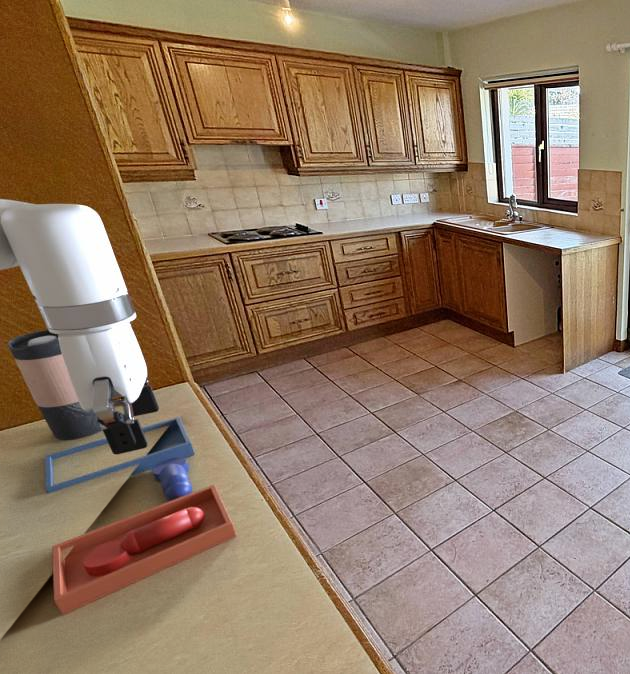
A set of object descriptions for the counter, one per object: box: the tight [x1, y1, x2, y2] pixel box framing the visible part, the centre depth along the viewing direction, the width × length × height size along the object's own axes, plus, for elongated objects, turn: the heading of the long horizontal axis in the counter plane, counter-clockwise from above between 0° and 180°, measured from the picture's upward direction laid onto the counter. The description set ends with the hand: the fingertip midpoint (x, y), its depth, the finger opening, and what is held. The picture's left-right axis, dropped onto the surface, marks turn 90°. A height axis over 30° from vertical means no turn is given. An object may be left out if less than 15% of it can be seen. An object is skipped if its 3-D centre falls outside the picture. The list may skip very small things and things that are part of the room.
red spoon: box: [83, 507, 204, 576], centre depth 65 cm, size 12×4×3 cm, turn 137°
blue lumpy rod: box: [151, 458, 193, 502], centre depth 76 cm, size 12×4×3 cm, turn 47°
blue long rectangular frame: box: [44, 416, 196, 494], centre depth 81 cm, size 11×17×2 cm, turn 137°
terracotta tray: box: [51, 484, 237, 616], centre depth 65 cm, size 11×17×2 cm, turn 137°
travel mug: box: [7, 329, 103, 441], centre depth 83 cm, size 8×8×20 cm
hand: (138, 430), depth 63 cm, fingers open, 9 cm apart
